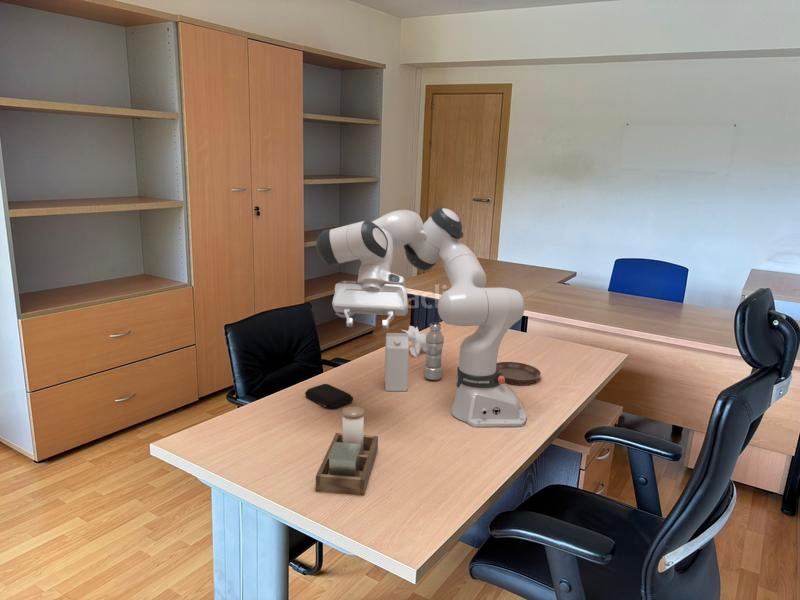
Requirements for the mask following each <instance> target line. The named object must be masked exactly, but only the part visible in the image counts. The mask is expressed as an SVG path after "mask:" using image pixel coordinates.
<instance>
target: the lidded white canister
mask: <svg viewBox="0 0 800 600" xmlns="http://www.w3.org/2000/svg"><path fill="white" fill-rule="evenodd" d="M341 414H342V433H343V443H352V444H361V449H360V455H363V447H364V435H365V432H364V429H365V428H364V424H365V423H364V422H365V420H364V418H365V409H364V408H362V407H360V406H347V407H344V408H343V409H342V410H341Z"/></svg>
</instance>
